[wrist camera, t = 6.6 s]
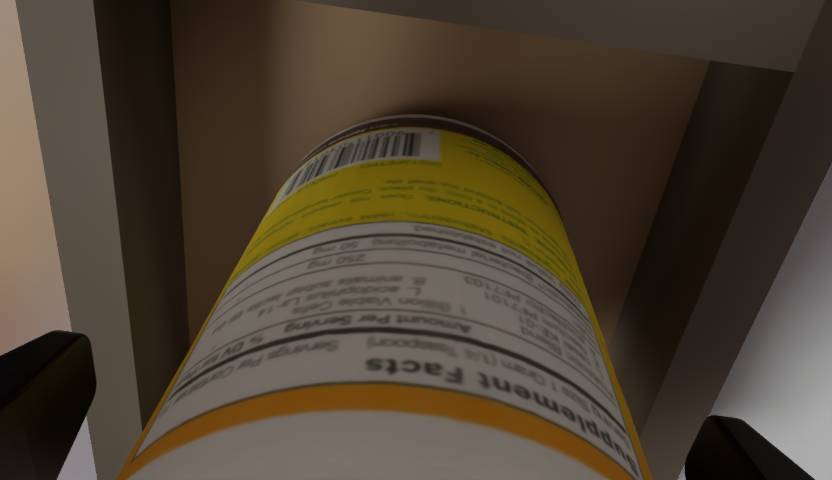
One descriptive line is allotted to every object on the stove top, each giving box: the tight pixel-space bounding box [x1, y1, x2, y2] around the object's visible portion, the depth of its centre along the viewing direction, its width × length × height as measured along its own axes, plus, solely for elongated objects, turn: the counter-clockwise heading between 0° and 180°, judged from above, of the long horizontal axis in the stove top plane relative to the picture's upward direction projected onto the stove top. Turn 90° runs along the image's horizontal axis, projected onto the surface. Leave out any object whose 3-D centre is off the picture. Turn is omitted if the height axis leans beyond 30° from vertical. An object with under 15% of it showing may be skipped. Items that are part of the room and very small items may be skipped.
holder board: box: [16, 0, 832, 480], centre depth 12 cm, size 14×20×4 cm
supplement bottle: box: [116, 114, 653, 480], centre depth 8 cm, size 6×6×10 cm
